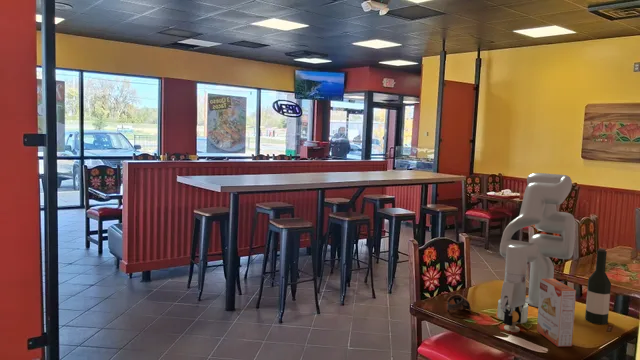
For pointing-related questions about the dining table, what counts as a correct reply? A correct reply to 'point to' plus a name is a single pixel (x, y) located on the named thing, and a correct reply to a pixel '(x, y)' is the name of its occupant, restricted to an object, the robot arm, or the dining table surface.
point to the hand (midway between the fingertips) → (512, 322)
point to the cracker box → (556, 312)
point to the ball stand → (512, 327)
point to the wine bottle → (598, 292)
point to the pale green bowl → (524, 310)
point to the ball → (515, 316)
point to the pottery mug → (458, 303)
